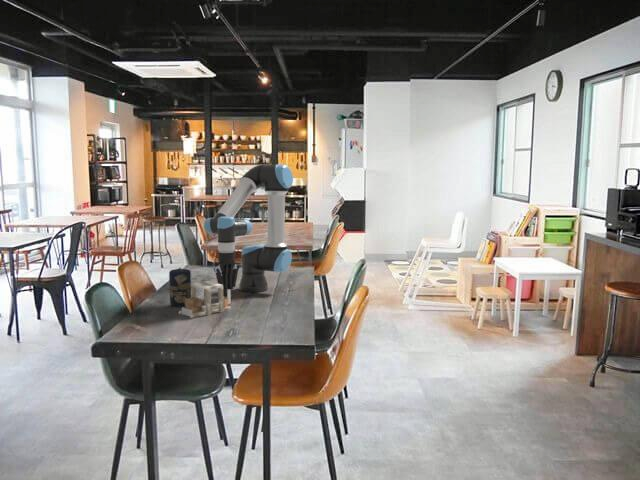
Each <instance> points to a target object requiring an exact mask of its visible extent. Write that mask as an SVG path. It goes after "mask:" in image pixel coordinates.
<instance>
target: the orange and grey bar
mask: <svg viewBox="0 0 640 480" xmlns="http://www.w3.org/2000/svg"><path fill="white" fill-rule="evenodd" d="M223 299H224V307H229V304H228V299H227V298H224V297H223ZM202 306H203V305H201V311H200V312H195V313H192V310H190V309H187V308H186V307H185V306H183V307H181V311H182V314H181V315H184V316H188V317H190V315H192V314H196V313H201V312H206V309H205V307H202ZM215 309H219V306H215V307H211V310H215Z"/></svg>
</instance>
